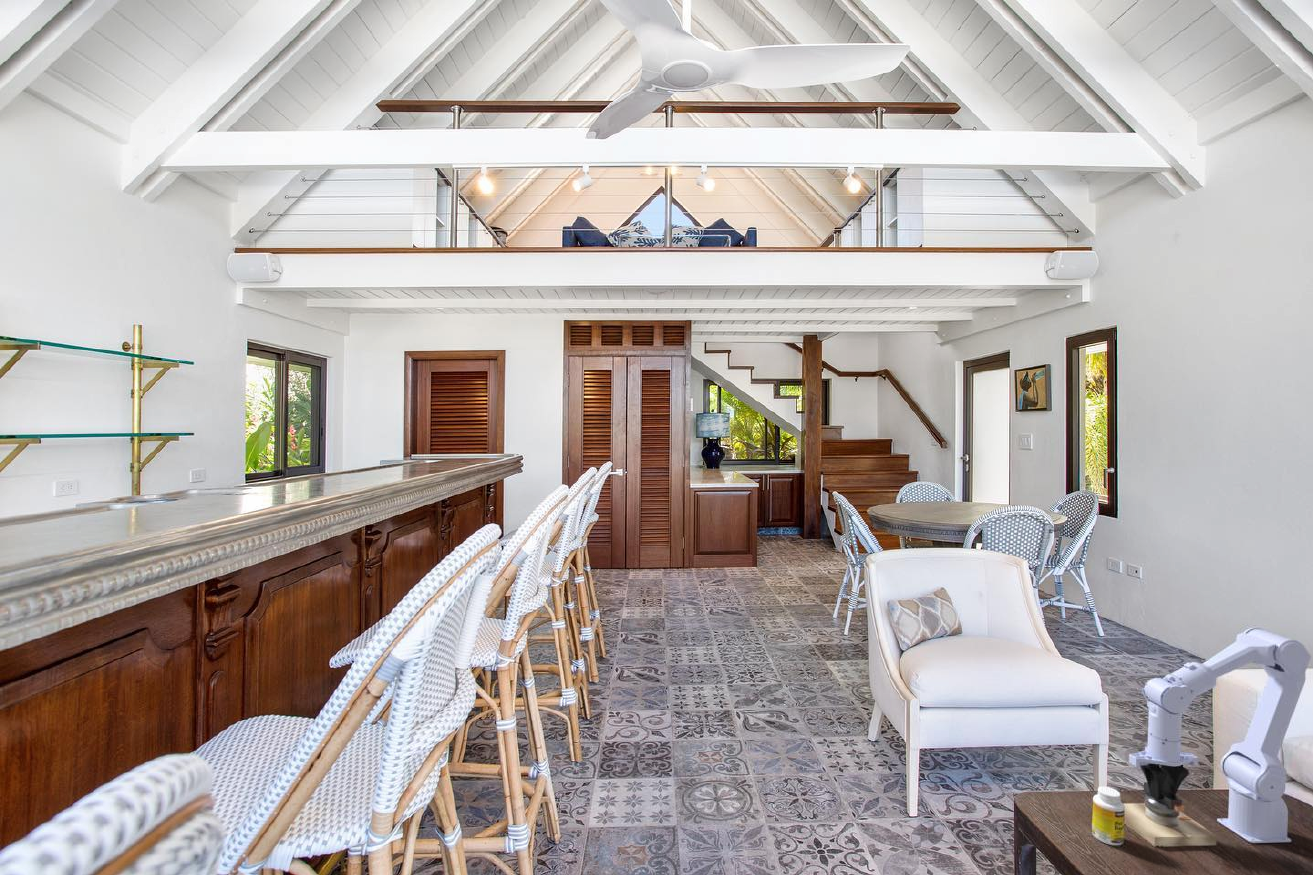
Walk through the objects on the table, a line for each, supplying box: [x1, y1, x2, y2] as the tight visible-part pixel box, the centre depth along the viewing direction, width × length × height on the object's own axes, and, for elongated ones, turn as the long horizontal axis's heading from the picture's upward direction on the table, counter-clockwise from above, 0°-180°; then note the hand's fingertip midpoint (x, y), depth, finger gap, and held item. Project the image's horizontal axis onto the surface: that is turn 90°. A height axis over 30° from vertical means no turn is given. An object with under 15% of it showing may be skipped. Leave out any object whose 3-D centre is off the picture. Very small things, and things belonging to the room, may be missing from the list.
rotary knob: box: [1143, 781, 1186, 817], centre depth 140 cm, size 6×8×4 cm
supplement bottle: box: [1091, 786, 1125, 846], centre depth 137 cm, size 6×6×10 cm
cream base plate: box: [1123, 802, 1218, 848], centre depth 141 cm, size 14×12×4 cm
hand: (1162, 797), depth 141 cm, fingers closed on rotary knob, 2 cm apart
